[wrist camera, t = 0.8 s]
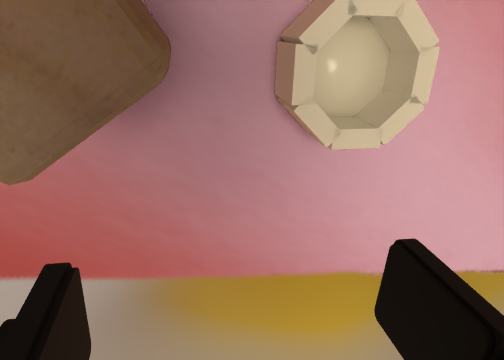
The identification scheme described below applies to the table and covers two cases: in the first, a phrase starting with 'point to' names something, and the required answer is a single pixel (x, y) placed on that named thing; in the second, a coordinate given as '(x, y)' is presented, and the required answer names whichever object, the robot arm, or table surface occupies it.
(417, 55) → the bowl
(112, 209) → the table surface
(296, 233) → the table surface
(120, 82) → the wooden block
